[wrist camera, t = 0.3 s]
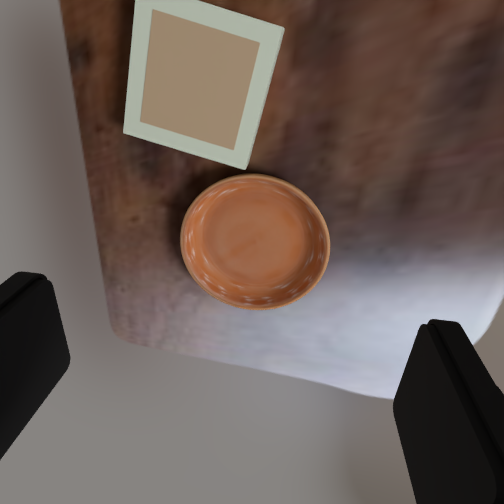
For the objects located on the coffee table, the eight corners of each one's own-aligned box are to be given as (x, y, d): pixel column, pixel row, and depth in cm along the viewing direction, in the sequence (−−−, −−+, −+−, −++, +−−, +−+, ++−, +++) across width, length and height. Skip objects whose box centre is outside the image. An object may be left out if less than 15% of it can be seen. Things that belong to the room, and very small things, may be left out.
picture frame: (148, -14, 31) (136, -19, 29) (284, 29, 31) (283, 27, 29) (133, 128, 37) (122, 133, 35) (248, 163, 37) (245, 170, 35)
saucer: (248, 134, 36) (244, 140, 33) (359, 236, 40) (363, 249, 37) (160, 239, 43) (151, 251, 40) (262, 317, 47) (259, 333, 44)
